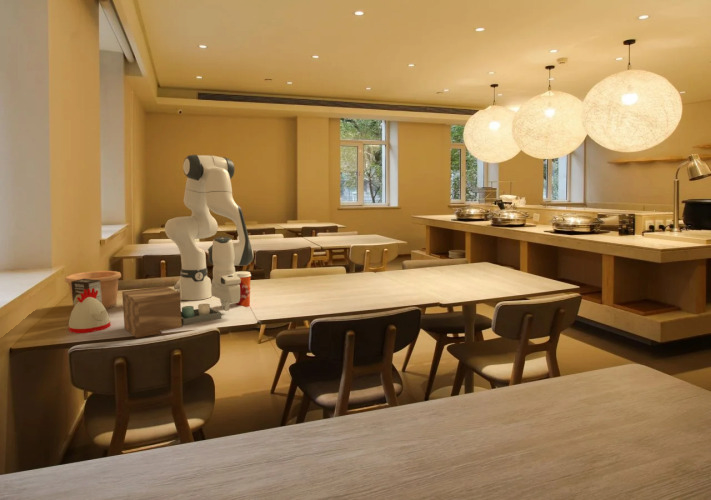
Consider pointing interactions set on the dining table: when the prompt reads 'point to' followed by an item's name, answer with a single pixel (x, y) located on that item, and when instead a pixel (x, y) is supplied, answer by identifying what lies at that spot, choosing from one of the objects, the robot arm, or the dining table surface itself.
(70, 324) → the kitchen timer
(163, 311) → the wood grain block
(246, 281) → the coffee cup
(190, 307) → the teal short cylinder
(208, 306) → the cream rounded cylinder
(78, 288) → the coffee box
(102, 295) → the pottery
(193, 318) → the tray
